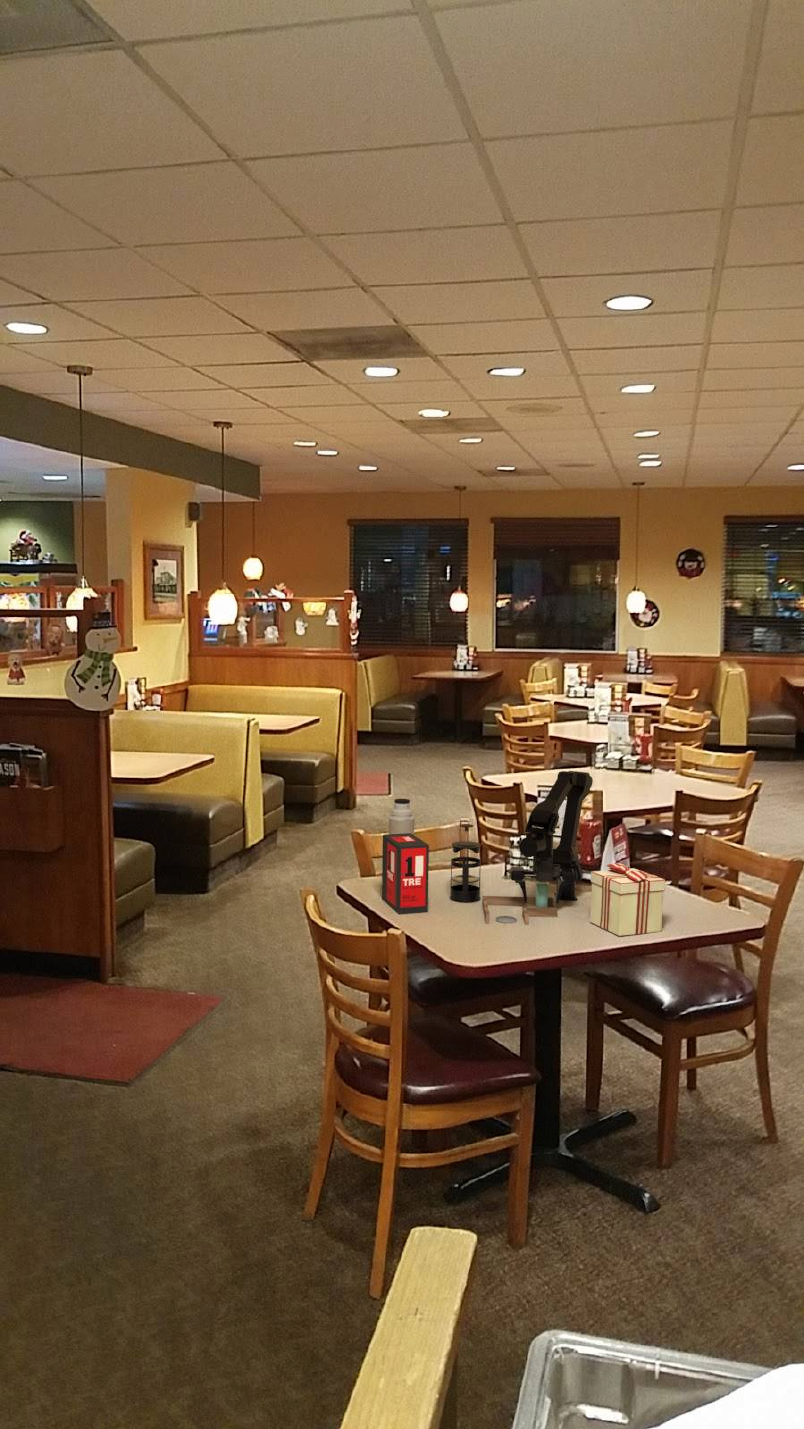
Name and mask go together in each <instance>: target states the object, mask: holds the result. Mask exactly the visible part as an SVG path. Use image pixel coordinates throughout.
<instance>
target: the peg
mask: <svg viewBox="0 0 804 1429" xmlns="http://www.w3.org/2000/svg"><path fill="white" fill-rule="evenodd" d="M535 897H536V902H535V906H534V907H546V908H548V906H547V903H548V897H549V884H548V883H545V882H538V883H535Z"/></svg>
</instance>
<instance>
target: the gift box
mask: <svg viewBox="0 0 804 1429" xmlns="http://www.w3.org/2000/svg"><path fill="white" fill-rule="evenodd" d="M606 867H607V868H608V869H606V870H595V871H591V872H590V882H591V895H590V896H591V898H590V900H591V901H590V919H589V922H590V923H591V924H592V925H595V926H597V927H599V928H601V929H603V930H604V931H608V932H610V933H612V934H614V935H616V936H619V937H623V936H624V937H625V936H633V935H642V934H649V933H650V934H651V933H659V932H662V926H663V924H662V923H663V906H664V892H665V891H666V879H665V878H664V877H663V878H662V877H659V876H657V875H655V874H650V873H648V872H645V871H643V870H639V869H637V868H633V867H632V868H630V866H626V865H625V864H624V863H621V862H614V863H608V864H606Z"/></svg>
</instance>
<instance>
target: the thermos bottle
mask: <svg viewBox="0 0 804 1429" xmlns="http://www.w3.org/2000/svg"><path fill="white" fill-rule="evenodd" d="M393 801H394V805H393V808H392V809H391V812H390V815H389V817H388V834H404V833H411V834H413V835H414V836H415V816H413V813H414V812H413V810H412V808H410V805H411V804H410V802H411V800H410V799H409V798H395V799H394V800H393Z"/></svg>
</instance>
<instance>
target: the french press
mask: <svg viewBox="0 0 804 1429" xmlns="http://www.w3.org/2000/svg"><path fill="white" fill-rule="evenodd" d="M459 827H461V828H464V832H465V840H461V841H460V840H459V841H456V842H455V841H454V842H452V843H451V847H452V852H453V853H455V854H457V853H459V852H461V851H462V850H465V852H464V854H465V855H464V856H457V857H453V858H451V859H450V895H449V899H450V901H452V902H456V903H463V904H469V903H470V904H472V903H477V902H480V901H481V864H482V863H481V862H482V861H481V859H480V858H477V857H472V856H468V854H467V853H468V850H470V851H472V853H475V854H479V853H480V848H481V847H482V845H481V843H479V842H476V841H468V831H469V828H474V825H473V824H470V823H462V824H460V825H459ZM460 862H461V863H460ZM469 862H472V863H469ZM453 867H455V868H460V869H461V868H462V874H457V875H456V874H455V875H453ZM474 868H479V874H478V876H479V877H478V876H476V875H473V874H471V875H470V869H474ZM452 881H453V882H454V883H457V884H454V885H453V884H452ZM475 883H478V886H477V885H474V884H475Z"/></svg>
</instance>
